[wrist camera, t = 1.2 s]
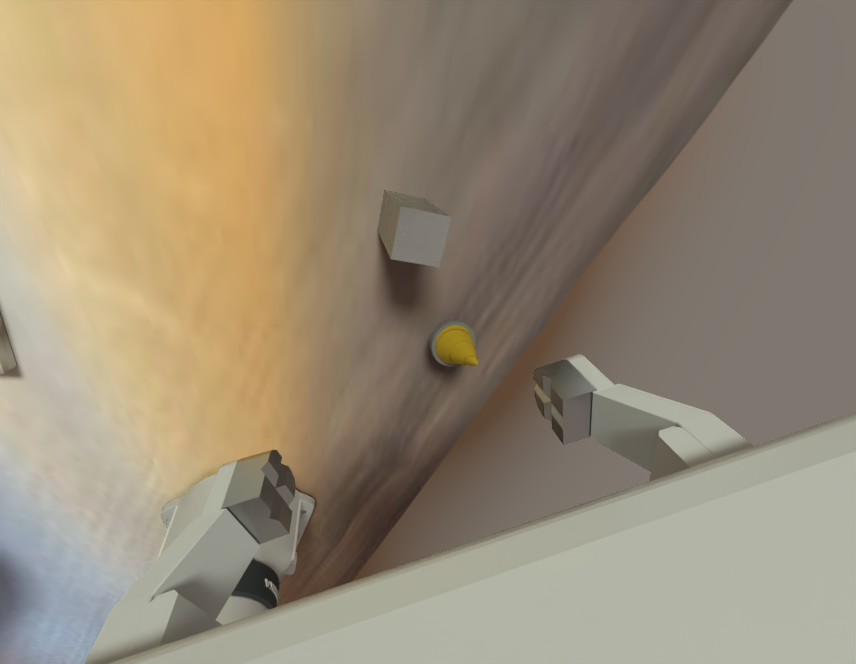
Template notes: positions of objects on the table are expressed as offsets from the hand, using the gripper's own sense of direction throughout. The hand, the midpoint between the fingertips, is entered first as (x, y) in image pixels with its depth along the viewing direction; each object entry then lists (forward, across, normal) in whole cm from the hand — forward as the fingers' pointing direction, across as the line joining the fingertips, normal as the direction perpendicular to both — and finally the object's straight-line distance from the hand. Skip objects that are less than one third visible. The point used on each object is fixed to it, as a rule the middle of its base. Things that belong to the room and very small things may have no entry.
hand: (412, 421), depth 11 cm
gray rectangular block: (+28, -4, 0) cm, 29 cm away
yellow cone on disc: (+28, -5, +16) cm, 33 cm away
